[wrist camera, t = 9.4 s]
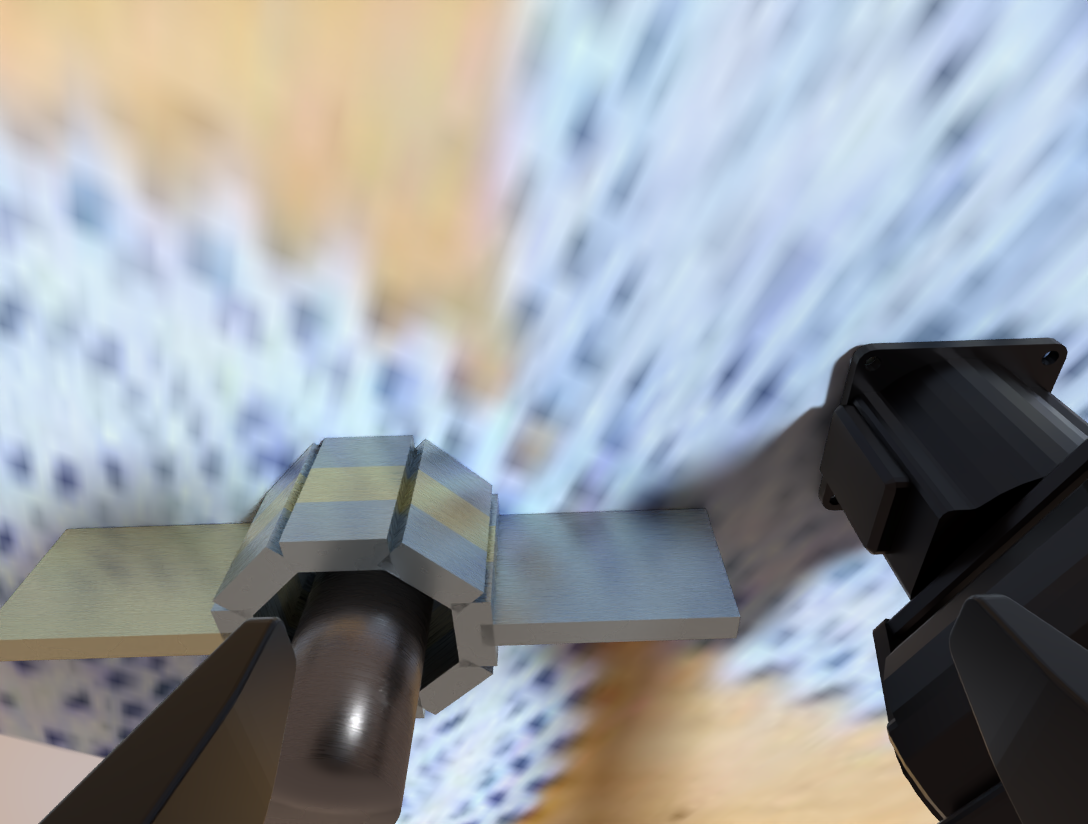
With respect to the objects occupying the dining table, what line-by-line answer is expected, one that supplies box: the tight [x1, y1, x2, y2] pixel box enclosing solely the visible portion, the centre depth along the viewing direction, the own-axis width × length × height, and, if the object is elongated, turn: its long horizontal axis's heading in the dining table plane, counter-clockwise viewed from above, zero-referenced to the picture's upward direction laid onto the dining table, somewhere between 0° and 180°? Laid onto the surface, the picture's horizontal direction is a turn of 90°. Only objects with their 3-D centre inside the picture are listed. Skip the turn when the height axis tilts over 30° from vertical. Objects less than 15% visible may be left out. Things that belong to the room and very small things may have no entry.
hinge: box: [0, 435, 740, 718], centre depth 23 cm, size 24×8×5 cm, turn 92°
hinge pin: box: [264, 570, 434, 824], centre depth 21 cm, size 4×4×10 cm
